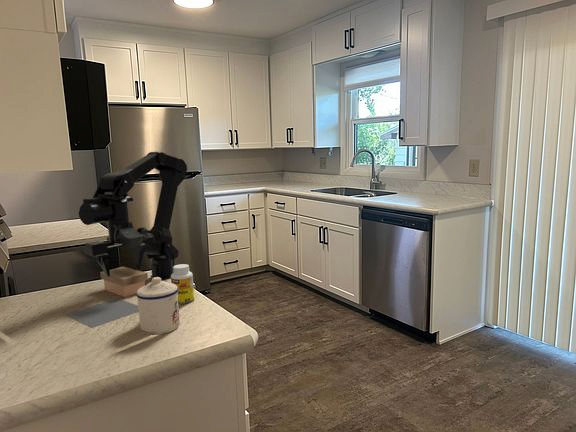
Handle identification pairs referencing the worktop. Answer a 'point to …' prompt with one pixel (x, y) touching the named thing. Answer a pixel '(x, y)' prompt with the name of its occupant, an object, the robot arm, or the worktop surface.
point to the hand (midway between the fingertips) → (123, 272)
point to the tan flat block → (124, 276)
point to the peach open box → (123, 288)
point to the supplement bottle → (183, 283)
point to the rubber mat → (104, 312)
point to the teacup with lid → (158, 307)
